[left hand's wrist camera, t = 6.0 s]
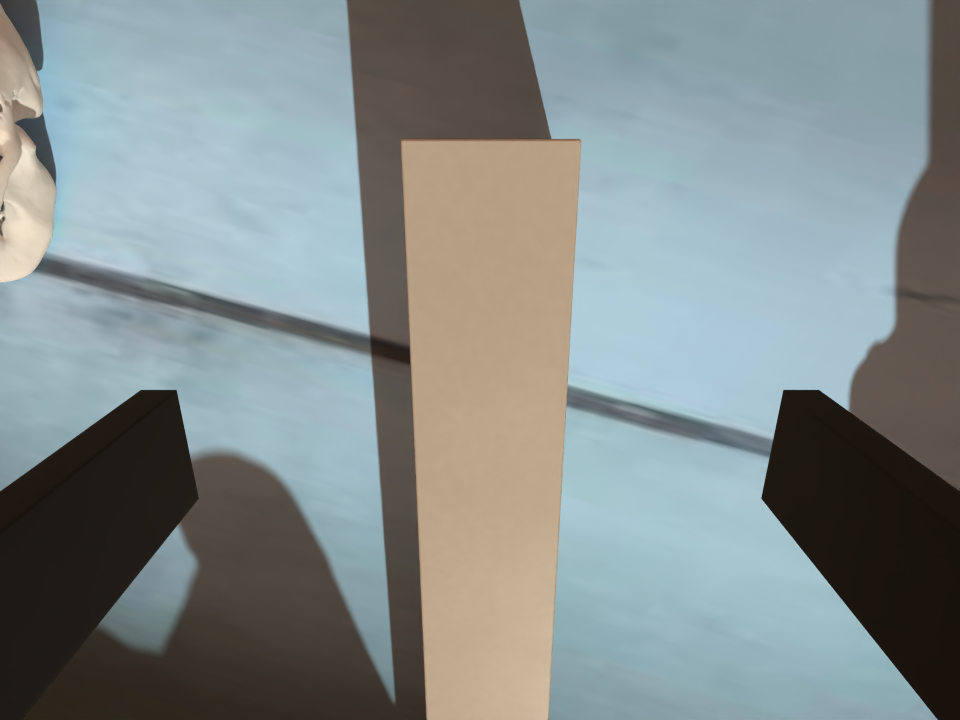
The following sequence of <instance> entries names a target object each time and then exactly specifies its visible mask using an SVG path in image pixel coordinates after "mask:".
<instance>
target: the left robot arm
mask: <svg viewBox="0 0 960 720" xmlns="http://www.w3.org/2000/svg"><path fill="white" fill-rule="evenodd" d="M198 499H199V498H198V493H197V488H196V483H195V478H194V473H193V468H192V464H191V459H190V454H189V449H188V444H187V439H186V434H185V429H184V424H183V419H182V414H181V410H180V405H179V400H178V395H177V390H140V391H139V392H138V393H136V394H135V395H134V396H132V397H131V398H129V399H128V400H127V401H125V402H124V403H122V404H121V405H120V406H118V407H117V408H115V409H114V410H113V411H111V412H110V413H109V414H107V415H106V416H104V417H103V418H102V419H100V420H99V421H97V422H96V423H95V424H93V425H92V426H90V427H89V428H88V429H86V430H85V431H84V432H82V433H81V434H79V435H78V436H77V437H75V438H74V439H72V440H71V441H70V442H68V443H67V444H66V445H64V446H63V447H61V448H60V449H59V450H57V451H56V452H54V453H53V454H52V455H50V456H49V457H47V458H46V459H45V460H43V461H42V462H41V463H39V464H38V465H36V466H35V467H34V468H32V469H31V470H29V471H28V472H27V473H25V474H24V475H22V476H21V477H20V478H18V479H17V480H16V481H14V482H13V483H11V484H10V485H9V486H7V487H6V488H4V489H3V490H2V491H0V720H22V719H23V718H24V717H25V716H26V714H27V713H28V712H29V710H30V709H31V708H32V707H33V705H34V704H35V703H36V702H37V700H38V699H39V698H40V697H41V695H42V694H43V693H44V692H45V690H46V689H47V688H48V687H49V685H50V684H51V683H52V682H53V680H54V679H55V678H56V677H57V675H58V674H59V673H60V672H61V670H62V669H63V668H64V667H65V665H66V664H67V663H68V662H69V660H70V659H71V658H72V657H73V655H74V654H75V653H76V652H77V650H78V649H79V648H80V647H81V645H82V644H83V643H84V642H85V640H86V639H87V638H88V637H89V635H90V634H91V633H92V632H93V630H94V629H95V628H96V627H97V625H98V624H99V623H100V622H101V620H102V619H103V618H104V616H105V615H106V614H107V613H108V611H109V610H110V609H111V608H112V606H113V605H114V604H115V603H116V601H117V600H118V599H119V598H120V596H121V595H122V594H123V593H124V591H125V590H126V589H127V588H128V586H129V585H130V584H131V583H132V581H133V580H134V579H135V578H136V576H137V575H138V574H139V573H140V571H141V570H142V569H143V568H144V566H145V565H146V564H147V563H148V561H149V560H150V559H151V558H152V556H153V555H154V554H155V553H156V551H157V550H158V549H159V548H160V546H161V545H162V544H163V543H164V541H165V540H166V539H167V538H168V536H169V535H170V534H171V533H172V531H173V530H174V529H175V528H176V526H177V525H178V524H179V523H180V521H181V520H182V519H183V517H184V516H185V515H186V514H187V512H188V511H189V510H190V509H191V507H192V506H193V505H194V504H195V502H196V501H197V500H198ZM761 499H762V500H763V501H764V502H765V504H766V505H767V506H768V507H769V509H770V510H771V511H772V512H773V514H774V515H775V516H776V517H777V519H778V520H779V521H780V523H781V524H782V525H783V526H784V528H785V529H786V530H787V531H788V533H789V534H790V535H791V536H792V538H793V539H794V540H795V541H796V543H797V544H798V545H799V546H800V548H801V549H802V550H803V551H804V553H805V554H806V555H807V556H808V558H809V559H810V560H811V561H812V563H813V564H814V565H815V566H816V568H817V569H818V570H819V571H820V573H821V574H822V575H823V576H824V578H825V579H826V580H827V581H828V583H829V584H830V585H831V586H832V588H833V589H834V590H835V591H836V593H837V594H838V595H839V596H840V598H841V599H842V600H843V601H844V603H845V604H846V605H847V606H848V608H849V609H850V610H851V611H852V613H853V614H854V615H855V616H856V618H857V619H858V620H859V622H860V623H861V624H862V625H863V627H864V628H865V629H866V630H867V632H868V633H869V634H870V635H871V637H872V638H873V639H874V640H875V642H876V643H877V644H878V645H879V647H880V648H881V649H882V650H883V652H884V653H885V654H886V655H887V657H888V658H889V659H890V660H891V662H892V663H893V664H894V665H895V667H896V668H897V669H898V670H899V672H900V673H901V674H902V675H903V677H904V678H905V679H906V680H907V682H908V683H909V684H910V685H911V687H912V688H913V689H914V690H915V692H916V693H917V694H918V695H919V697H920V698H921V699H922V700H923V702H924V703H925V704H926V705H927V707H928V708H929V709H930V710H931V712H932V713H933V714H934V716H935V717H936V718H937V719H938V720H960V491H958V490H957V489H956V488H954V487H953V486H951V485H950V484H949V483H947V482H946V481H944V480H943V479H942V478H940V477H939V476H938V475H936V474H935V473H933V472H932V471H931V470H929V469H928V468H926V467H925V466H924V465H922V464H921V463H919V462H918V461H917V460H915V459H914V458H913V457H911V456H910V455H908V454H907V453H906V452H904V451H903V450H901V449H900V448H899V447H897V446H896V445H894V444H893V443H892V442H890V441H889V440H888V439H886V438H885V437H883V436H882V435H881V434H879V433H878V432H876V431H875V430H874V429H872V428H871V427H870V426H868V425H867V424H865V423H864V422H863V421H861V420H860V419H858V418H857V417H856V416H854V415H853V414H851V413H850V412H849V411H847V410H846V409H845V408H843V407H842V406H840V405H839V404H838V403H836V402H835V401H833V400H832V399H831V398H829V397H828V396H826V395H825V394H824V393H822V392H821V391H820V390H783V395H782V400H781V405H780V410H779V414H778V419H777V424H776V429H775V434H774V439H773V444H772V449H771V454H770V459H769V464H768V468H767V473H766V478H765V483H764V488H763V493H762V498H761Z"/></svg>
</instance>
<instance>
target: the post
mask: <svg viewBox="0 0 960 720" xmlns="http://www.w3.org/2000/svg"><path fill="white" fill-rule="evenodd" d="M580 155H581V140H580V139H402V140H401V159H402V181H403V204H404V226H405V249H406V271H407V294H408V316H409V339H410V361H411V384H412V406H413V429H414V451H415V474H416V496H417V519H418V541H419V564H420V586H421V609H422V631H423V654H424V676H425V699H426V720H548V716H549V699H550V681H551V664H552V646H553V629H554V611H555V594H556V576H557V558H558V541H559V523H560V506H561V488H562V471H563V453H564V436H565V418H566V401H567V383H568V365H569V348H570V330H571V313H572V295H573V278H574V260H575V243H576V225H577V208H578V190H579V172H580Z"/></svg>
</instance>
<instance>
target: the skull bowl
mask: <svg viewBox="0 0 960 720" xmlns="http://www.w3.org/2000/svg"><path fill="white" fill-rule="evenodd" d="M42 111H43V97H42V92H41V86H40V81H39V77H38V74H37V71H36V69H35V66H34V64H33V61H32V59H31V57H30V54H29V52H28V50H27V48H26V46H25V45H24V43H23V41H22V39H21V37H20V35H19V34H18V32H17V31H16V29H15V27H14V26H13V24H12V23H11V21H10V19H9V18H8V16H7V15H6V14H5V12H4V10H3V8H2V6H1V4H0V156H3V159H2V160H1V162H0V211H1V206H2V203H3V202H4V207H3V209H2V211H1V212H0V282H9V281H14V280H18V279H21V278H23V277H25V276H27V275H29V274H30V273H31V272H32V271H33V270H34V269H35V268H36V267H37V266H38V264H39V263H40V261H41V259H42V258H43V256H44V254H45V252H46V250H47V248H48V246H49V244H50V242H51V239H52V236H53V230H54V208H55V202H56V185H55V183H54V181H53V179H52V177H51V175H50V174H49V172H48V171H47V169H46V168H45V167H44V166H43V164H42V163H41V162H40V161H39V159H38V158H37V156H36V146H35V144H34V143H33V141H32V140H31V139H30V138H29V136H28V135H27V134H26V133H25V131H24V130H23V129H22V128H20V127H19V126H18V125H16V124H14V123H15V122H16V121H18V120H21V119H24V118H36V117H39V116H40V115H41V114H42Z"/></svg>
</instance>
